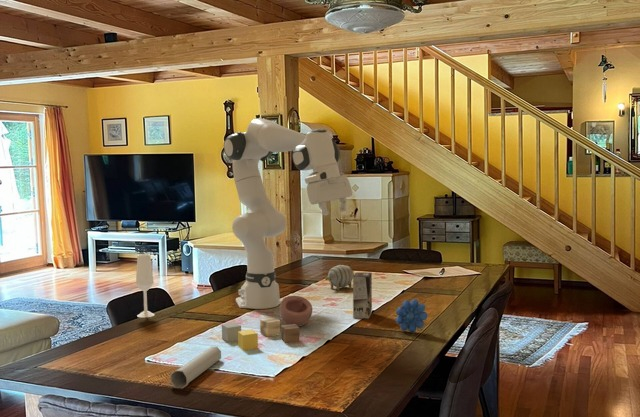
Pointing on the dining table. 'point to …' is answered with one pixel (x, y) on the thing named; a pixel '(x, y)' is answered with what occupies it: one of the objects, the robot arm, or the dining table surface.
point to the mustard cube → (247, 339)
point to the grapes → (411, 315)
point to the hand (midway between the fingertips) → (335, 213)
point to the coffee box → (362, 295)
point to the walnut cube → (290, 333)
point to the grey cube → (230, 332)
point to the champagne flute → (144, 279)
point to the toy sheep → (340, 276)
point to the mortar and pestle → (295, 310)
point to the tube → (195, 367)
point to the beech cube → (269, 326)
